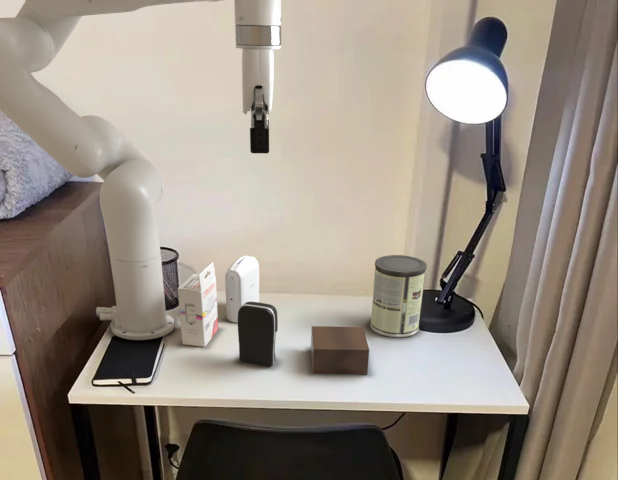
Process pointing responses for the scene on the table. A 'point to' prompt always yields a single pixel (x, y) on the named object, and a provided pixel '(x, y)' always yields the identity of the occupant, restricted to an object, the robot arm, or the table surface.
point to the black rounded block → (257, 333)
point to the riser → (339, 350)
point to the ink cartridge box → (198, 307)
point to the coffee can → (397, 295)
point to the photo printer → (241, 285)
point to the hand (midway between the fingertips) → (260, 147)
